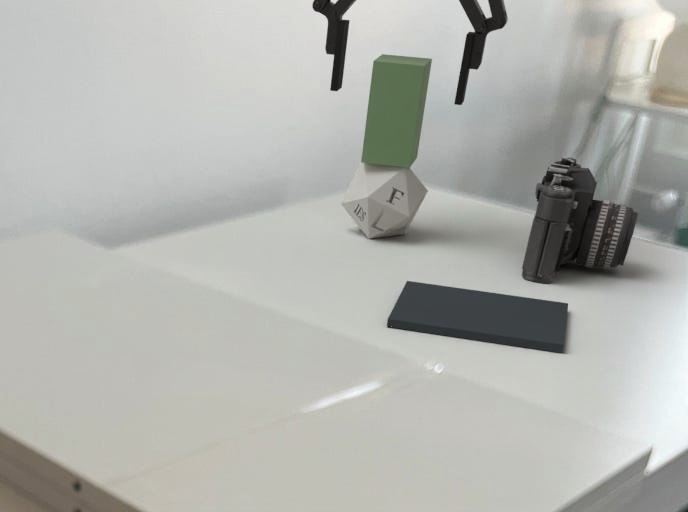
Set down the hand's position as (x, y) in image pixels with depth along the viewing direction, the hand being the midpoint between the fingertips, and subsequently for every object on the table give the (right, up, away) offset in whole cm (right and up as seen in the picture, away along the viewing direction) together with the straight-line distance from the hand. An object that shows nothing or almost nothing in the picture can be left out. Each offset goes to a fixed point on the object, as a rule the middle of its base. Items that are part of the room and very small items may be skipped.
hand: (396, 96), depth 113 cm
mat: (+5, -29, -14) cm, 32 cm away
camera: (+19, -19, +1) cm, 27 cm away
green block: (0, -5, +4) cm, 6 cm away
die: (-1, -12, +9) cm, 15 cm away
